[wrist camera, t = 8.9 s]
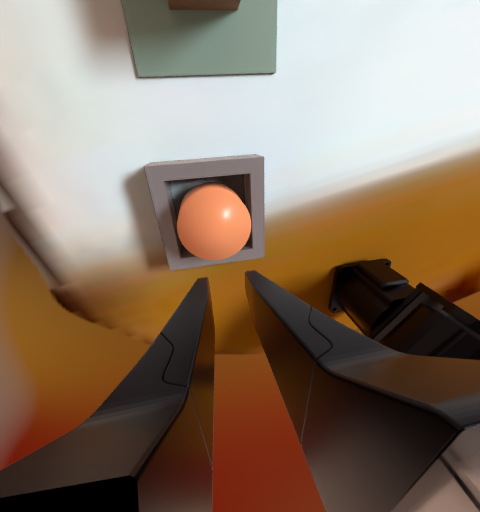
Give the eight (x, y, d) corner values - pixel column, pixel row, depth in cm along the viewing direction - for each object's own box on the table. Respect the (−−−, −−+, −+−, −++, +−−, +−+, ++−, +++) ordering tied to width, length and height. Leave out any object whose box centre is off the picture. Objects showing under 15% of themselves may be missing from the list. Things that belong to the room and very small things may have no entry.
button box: (257, 245, 21) (264, 257, 19) (172, 256, 20) (170, 270, 18) (255, 154, 17) (263, 156, 15) (150, 162, 16) (144, 166, 14)
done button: (244, 239, 19) (252, 255, 16) (185, 246, 18) (184, 264, 16) (241, 178, 17) (250, 186, 14) (173, 185, 16) (169, 194, 13)
